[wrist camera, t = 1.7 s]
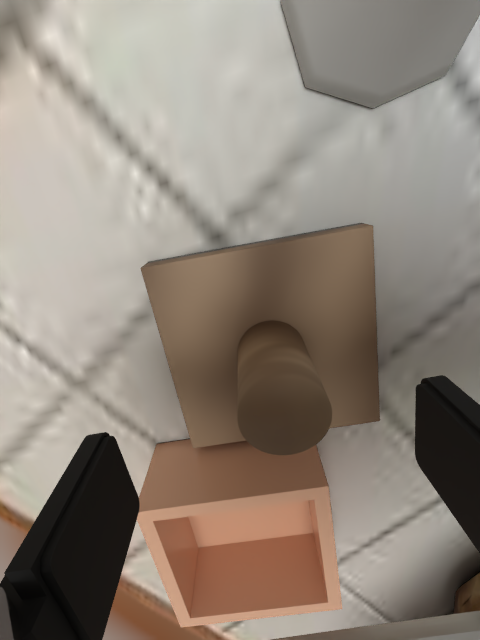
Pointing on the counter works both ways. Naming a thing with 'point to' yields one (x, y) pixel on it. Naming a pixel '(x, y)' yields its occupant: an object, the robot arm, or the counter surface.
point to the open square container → (239, 532)
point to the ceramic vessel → (468, 596)
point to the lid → (271, 338)
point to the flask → (376, 44)
